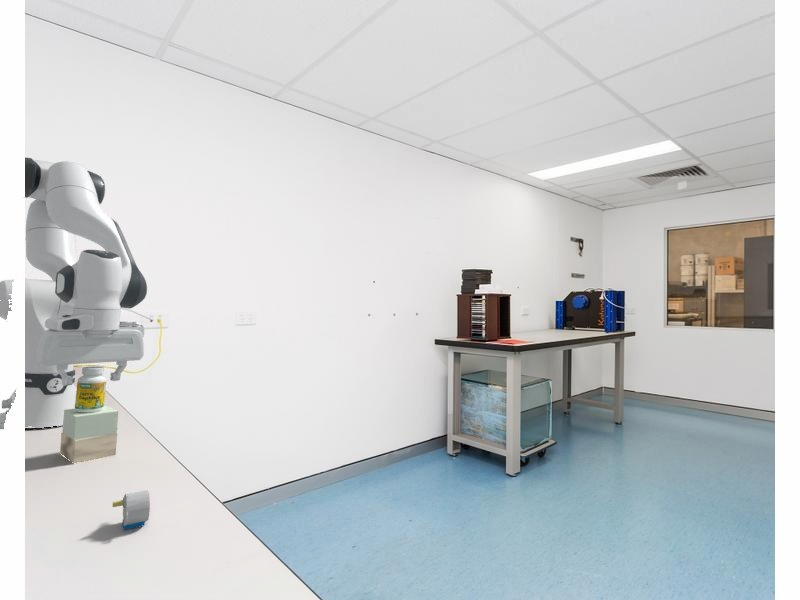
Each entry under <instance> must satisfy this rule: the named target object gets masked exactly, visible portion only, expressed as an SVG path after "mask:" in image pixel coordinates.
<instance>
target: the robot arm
mask: <svg viewBox="0 0 800 600" xmlns="http://www.w3.org/2000/svg"><path fill="white" fill-rule="evenodd" d="M24 157H25V156H24ZM105 196H106V184H105V181H104V179H103V178H102V176H101V175H99V174H97V173H94V172H93V171H90V170H87V169H86V168H84V166H82V165H80V164H78V163H76V162H72V161H68V160H67V161H66V160H65V161H58V162H52V161H46V160H41V159H40V160H38V159H33V158H32V157H25V197H24V198H25V199H28V198H31V199H34V200H33V201H32V202H30V205H29V207H28V210H27V214H26V221H25V257H26V260H27V262H29V264H30V265H31V266H32V267H34V268H35V269H37V270H38V271H41V272H43V273H45V274H46V275H48V276H49V277H50V279H52V280H49V279H48V280H47V279H36V278H35V279H32V278H24V279H25V427H28V426H32V427H35V428H42V429H45V428H44V427H51V428H54V427H53V426H57V427H63V419H64V410H67V409H75V400H76V391H77V386H75V382H76V380H75V379H76V377H77V375H76V370H75V369H74V366H75V365H81V364H98V363H115V362H116V366H117V367H116V368H115V371H114V372H110V377H109V380H110V381H112V382H116V381H120V380H121V374H122V373H123V372H124V370H125V368H126V367H127V365H128V364H127V363H128V362H130V361H141V360H142V359H143V357H144V354H145V346H144V345H145V344H144V337H145V326H143V324H141V323H139V322H138V321H130V322H129V321H121V310H122V309H129V310H130V309H133V308H135V307H136V306H138V305H139V304H140V303H141V302H143V301H144V300H145V298H146V297H147V293H148V286H147V284H148V283H147V280H146V278H145V277H144V274H143V273H142V272H141V270H140V269H139V268H138V265H137V263H136V260H135V259H134V257H133V254H132V252H131V250H130V247H129V244H128V242H127V240H126V237H125V236H124V232H123V231H122V229H121V227H120V226H119V224H118V222H117V221H116V220H114V219H113V218H112V217H111V216H109V215H108V214H107V213H106V211H105V210H104V209H103V207H102V206H101V204H102V203H103V200H104V198H105ZM76 236H78V237H81V238H84V239H86V240H88V241H91V242H93V243H94V244H97V245H98V246H99V247H101V248H102V249H103V250H100V249H85V250H81V252H80V254H79V257H78V252H77V241H76ZM14 279H15V278H14ZM14 279H6V280H5V279H4V280H1V281H0V300H1V301H0V318H2V320H3V319H4V321H6V319H7V315H8V311H12V310H11V307H10V308H9V305H12V303H10V304H9V301H8V300H9V299H10V300H11V299H12V298H11V295H9V294H12V287H13V286H12V282H14ZM10 302H12V301H10ZM121 308H122V309H121ZM15 392H16V389H14V390H13V392H12V393H11V395H10V396H9V398H7V399H2V401H1V409H3V410H4V409H5V410H6V411H5V412H4V411H3V412H0V430H5V429H4V423H5V420H6V414H7V412H9V410H10V409H11V406H12V405H11V403H14V400H15V397H16V393H15Z"/></svg>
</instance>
